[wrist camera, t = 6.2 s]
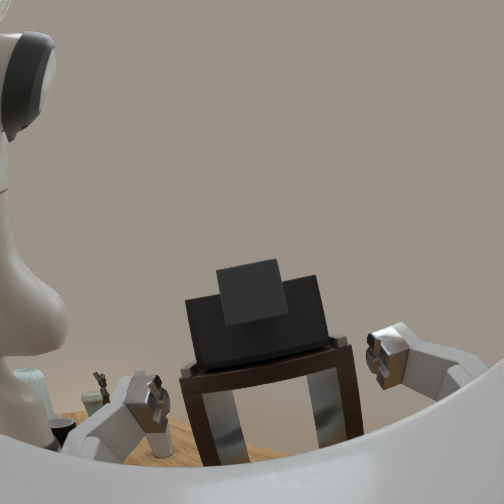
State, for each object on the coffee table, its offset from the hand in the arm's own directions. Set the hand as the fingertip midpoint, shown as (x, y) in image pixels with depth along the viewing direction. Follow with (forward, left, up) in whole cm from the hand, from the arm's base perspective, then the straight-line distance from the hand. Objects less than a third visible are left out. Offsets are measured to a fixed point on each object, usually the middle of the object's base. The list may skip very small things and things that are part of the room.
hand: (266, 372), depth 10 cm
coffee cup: (-82, +31, -28) cm, 92 cm away
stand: (-10, +18, -28) cm, 34 cm away
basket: (-6, +12, -2) cm, 13 cm away
